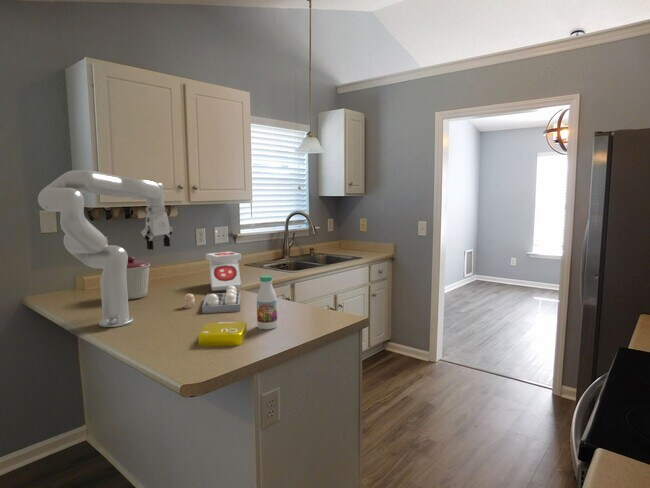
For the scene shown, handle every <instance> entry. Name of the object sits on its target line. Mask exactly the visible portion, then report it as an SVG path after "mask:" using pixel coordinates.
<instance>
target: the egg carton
mask: <svg viewBox="0 0 650 488" xmlns="http://www.w3.org/2000/svg"><path fill="white" fill-rule="evenodd" d="M237 290H238V289H236V288H235V287H234V286H229V287H228V288H227V290H226V292H223V293H222V292H221V293H218V292H217V293H207V294H206V295H205V298H204V301H203V302H202V303H203V304H202V306H201V312H202V313H201V314H213V313H229V312H241V308H242V307H241V303H242V292H241V291H240V292H237Z"/></svg>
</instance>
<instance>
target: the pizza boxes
mask: <svg viewBox="0 0 650 488" xmlns="http://www.w3.org/2000/svg"><path fill="white" fill-rule="evenodd" d="M242 258H243V255H242V254H241V253H238V252H233V251H221V252H209V253H205V260H207V261H209V284H210V288H211V291H227V288H228V287H229V286H234V287H235V288H236V290H240V289H241V288H242V281H241V275H240V274H241V273H240V265H239V261H241V260H242Z"/></svg>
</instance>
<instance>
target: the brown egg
mask: <svg viewBox="0 0 650 488" xmlns="http://www.w3.org/2000/svg"><path fill="white" fill-rule="evenodd" d="M195 299H196V298H195V296H194V294H193V293H186V294H185V295H184V296H183V307H184V309H186V310H187V309H194V308H196V300H195Z"/></svg>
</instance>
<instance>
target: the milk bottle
mask: <svg viewBox="0 0 650 488" xmlns="http://www.w3.org/2000/svg"><path fill="white" fill-rule="evenodd" d="M259 277H260V278H259V283H260V285H259V286H260V288H259V290H258V292H257V295H256V322H257V323H256V325H257V328H258V329H259V330H273V329H276V328H277V326H278V300H277V299H278V298H277V294H276V292H275V289H274V286H273V277H272V275H261V276H259Z"/></svg>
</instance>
